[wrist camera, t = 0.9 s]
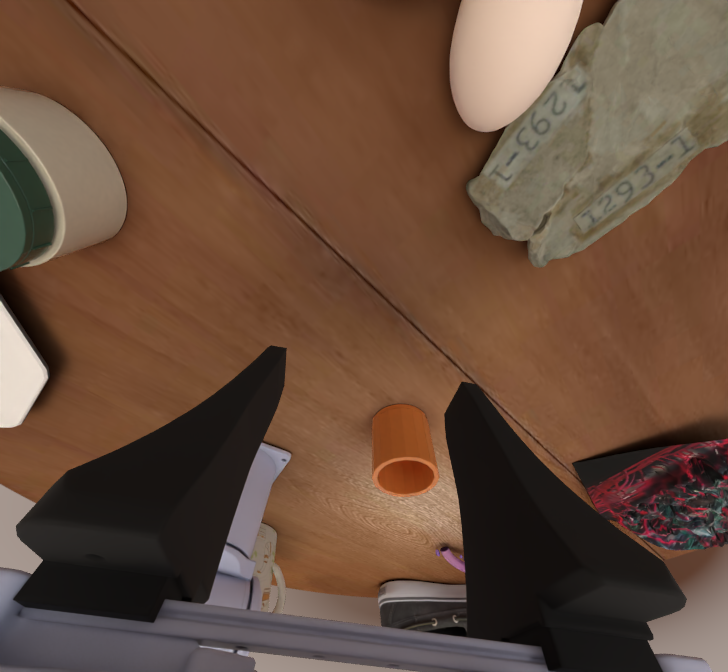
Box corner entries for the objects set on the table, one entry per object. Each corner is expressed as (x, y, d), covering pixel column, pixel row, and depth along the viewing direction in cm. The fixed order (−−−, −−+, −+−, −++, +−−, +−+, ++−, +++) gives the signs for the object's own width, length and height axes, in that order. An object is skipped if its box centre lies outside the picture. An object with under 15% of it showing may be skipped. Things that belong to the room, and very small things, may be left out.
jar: (119, 266, 21) (41, 302, 16) (-21, 202, 18) (-159, 221, 14) (136, 146, 17) (43, 146, 12) (-35, 50, 15) (-232, 2, 10)
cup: (406, 448, 30) (413, 503, 25) (361, 430, 29) (360, 484, 24) (438, 417, 28) (452, 471, 23) (391, 395, 26) (396, 448, 22)
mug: (256, 508, 37) (222, 618, 28) (317, 550, 42) (304, 652, 34) (208, 526, 39) (163, 632, 30) (272, 564, 44) (250, 661, 36)
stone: (556, 296, 18) (438, 178, 15) (536, 279, 21) (432, 174, 18) (921, 18, 11) (827, -283, 9) (827, 41, 14) (730, -186, 11)
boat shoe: (543, 587, 47) (574, 665, 40) (517, 607, 52) (541, 681, 45) (385, 569, 45) (388, 649, 38) (373, 592, 50) (373, 667, 42)
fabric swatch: (866, 523, 30) (908, 561, 27) (615, 542, 39) (629, 572, 37) (885, 392, 22) (946, 428, 20) (569, 456, 32) (581, 485, 29)
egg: (416, 118, 14) (473, -164, 10) (452, 131, 17) (505, -73, 13) (521, 132, 12) (648, -215, 8) (539, 144, 15) (632, -92, 11)
